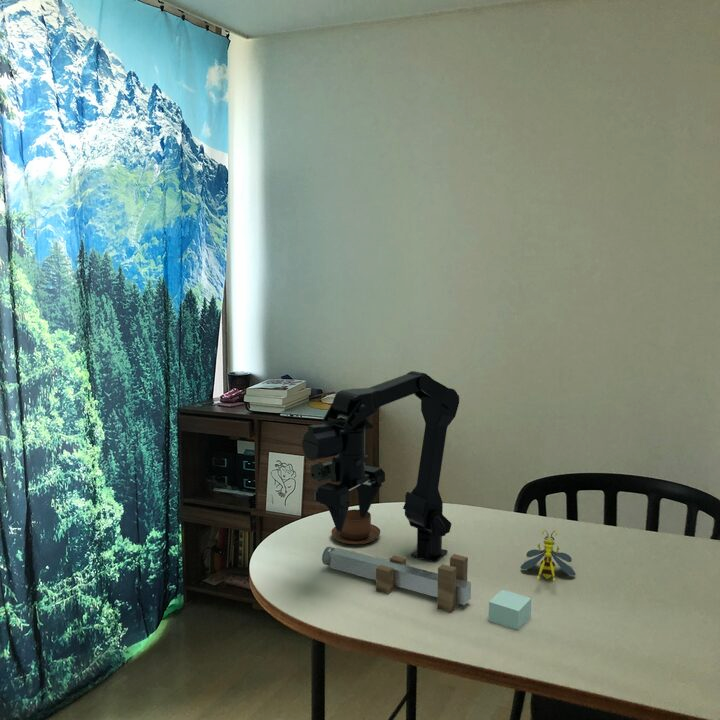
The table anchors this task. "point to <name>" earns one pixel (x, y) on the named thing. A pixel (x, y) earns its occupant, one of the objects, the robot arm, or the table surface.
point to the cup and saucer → (356, 529)
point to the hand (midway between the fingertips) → (351, 523)
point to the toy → (548, 559)
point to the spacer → (509, 609)
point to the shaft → (402, 573)
